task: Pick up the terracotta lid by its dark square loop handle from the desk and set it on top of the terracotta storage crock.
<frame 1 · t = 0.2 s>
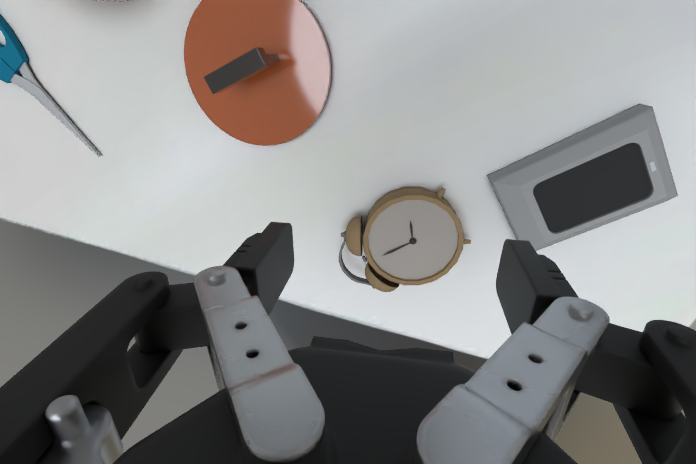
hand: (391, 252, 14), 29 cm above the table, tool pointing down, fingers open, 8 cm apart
grey flat box: (572, 180, 40), on the table
scissors: (38, 87, 44), on the table
lid: (257, 69, 39), point 1 cm above the table
alarm clock: (398, 235, 46), on the table
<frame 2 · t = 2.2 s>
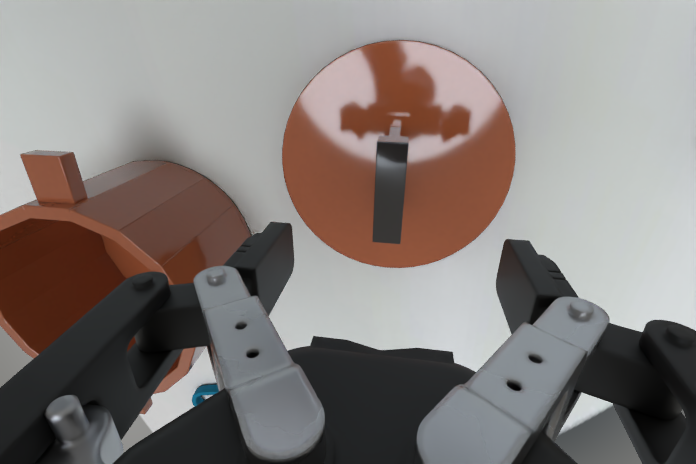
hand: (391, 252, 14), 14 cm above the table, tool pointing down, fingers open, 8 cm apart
lid: (393, 166, 26), point 1 cm above the table
crock: (174, 242, 32), on the table
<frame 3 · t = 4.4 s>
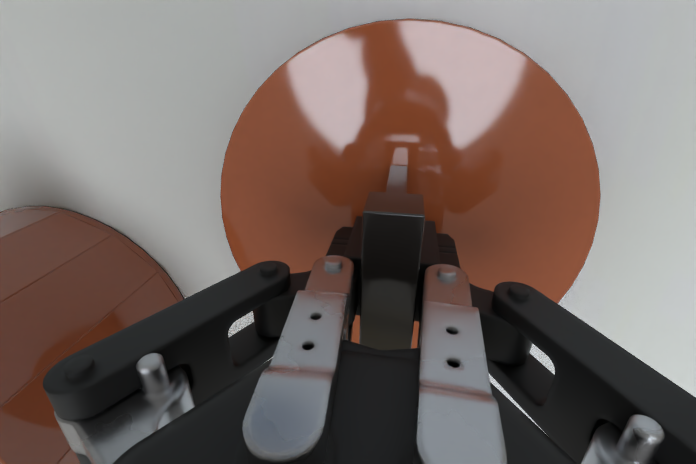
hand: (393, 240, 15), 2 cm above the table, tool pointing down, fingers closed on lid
lid: (395, 224, 16), point 1 cm above the table, touching gripper
crock: (85, 315, 23), on the table
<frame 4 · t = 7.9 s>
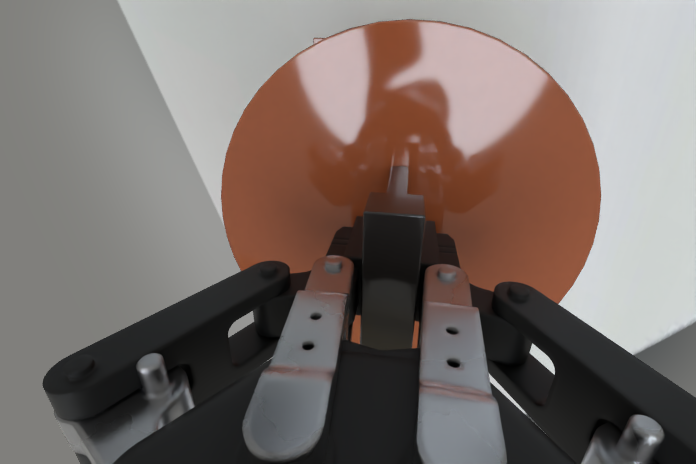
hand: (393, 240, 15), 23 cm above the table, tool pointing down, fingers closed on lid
lid: (396, 224, 16), point 21 cm above the table, touching gripper
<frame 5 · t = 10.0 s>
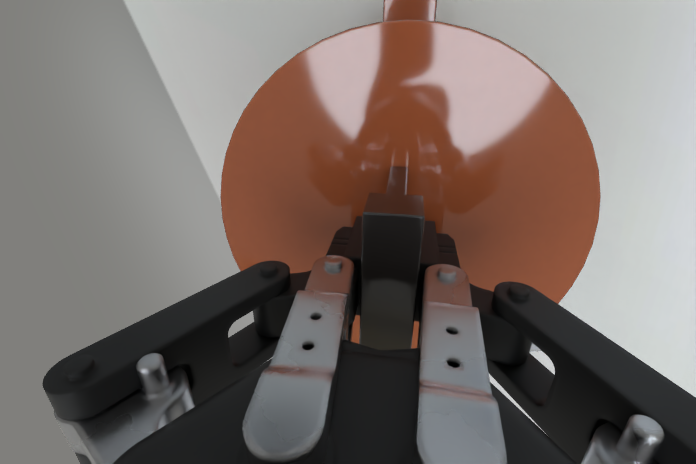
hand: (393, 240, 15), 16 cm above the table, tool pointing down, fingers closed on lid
lid: (395, 225, 16), point 14 cm above the table, touching gripper
crock: (401, 150, 29), on the table
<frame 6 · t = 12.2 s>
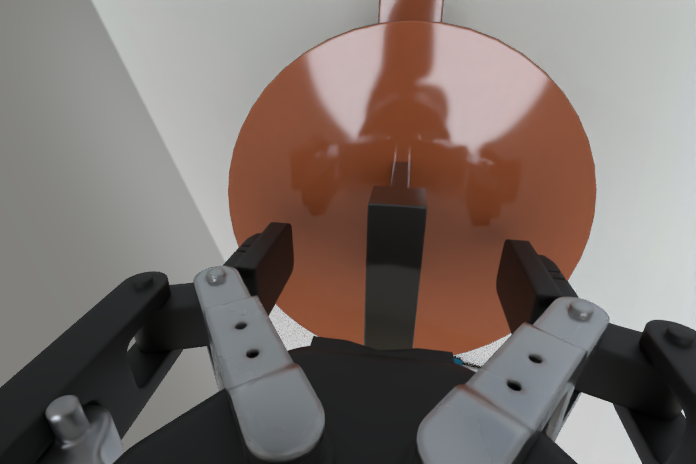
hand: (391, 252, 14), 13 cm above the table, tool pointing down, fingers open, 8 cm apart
lid: (397, 219, 17), point 10 cm above the table, touching crock
crock: (401, 162, 26), on the table
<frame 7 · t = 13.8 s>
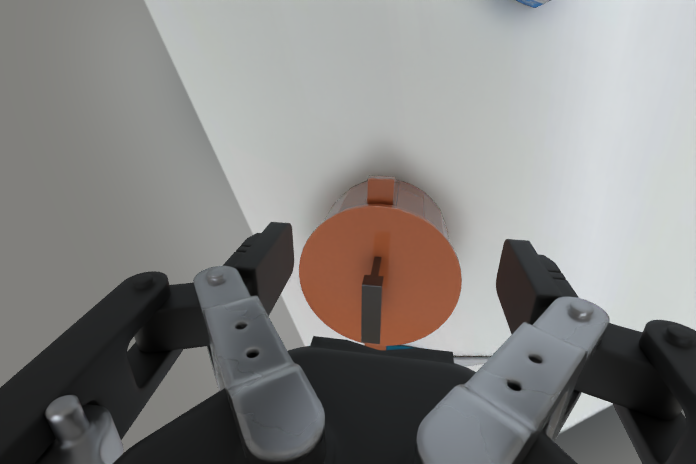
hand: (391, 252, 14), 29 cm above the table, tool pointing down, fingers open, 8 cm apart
scissors: (444, 360, 52), on the table
lid: (377, 278, 37), point 10 cm above the table, touching crock
crock: (385, 236, 46), on the table
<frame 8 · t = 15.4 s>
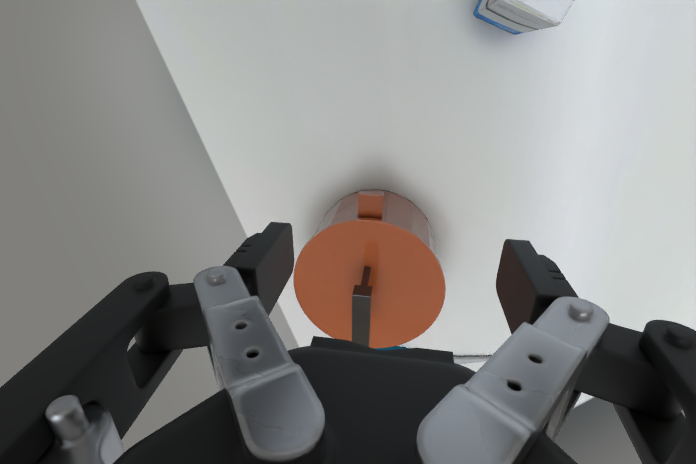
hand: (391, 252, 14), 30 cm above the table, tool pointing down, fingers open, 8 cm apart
lid: (367, 286, 39), point 10 cm above the table, touching crock
crock: (375, 243, 48), on the table
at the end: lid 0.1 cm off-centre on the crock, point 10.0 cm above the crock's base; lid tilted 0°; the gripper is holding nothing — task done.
